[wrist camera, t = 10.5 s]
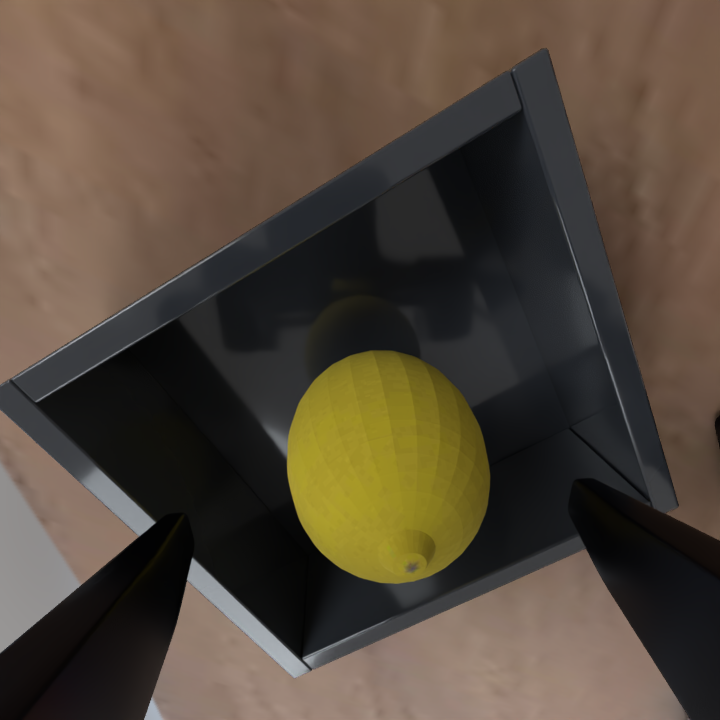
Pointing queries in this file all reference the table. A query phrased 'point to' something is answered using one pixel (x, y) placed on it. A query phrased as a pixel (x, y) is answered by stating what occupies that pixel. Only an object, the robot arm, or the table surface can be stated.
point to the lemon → (387, 467)
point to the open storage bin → (360, 334)
